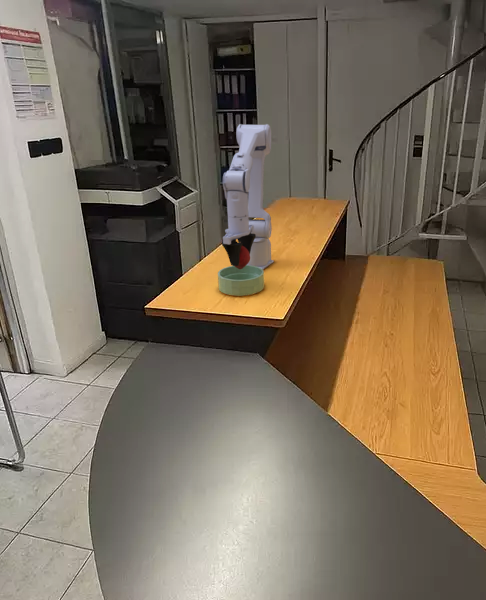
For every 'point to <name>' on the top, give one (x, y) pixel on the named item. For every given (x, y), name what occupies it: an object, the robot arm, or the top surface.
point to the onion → (243, 258)
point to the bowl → (241, 280)
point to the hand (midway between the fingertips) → (240, 262)
